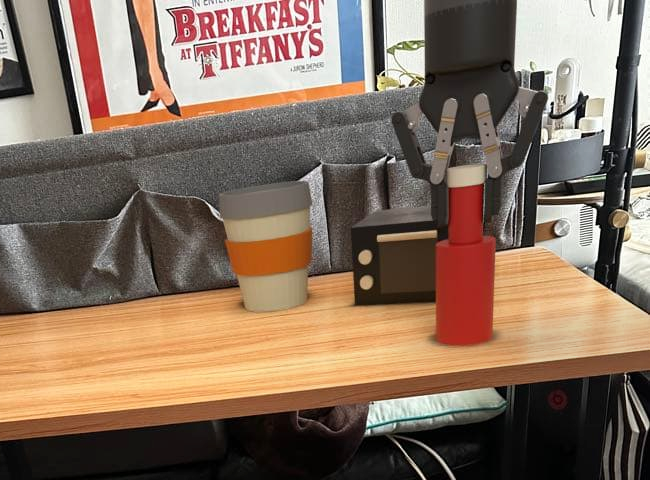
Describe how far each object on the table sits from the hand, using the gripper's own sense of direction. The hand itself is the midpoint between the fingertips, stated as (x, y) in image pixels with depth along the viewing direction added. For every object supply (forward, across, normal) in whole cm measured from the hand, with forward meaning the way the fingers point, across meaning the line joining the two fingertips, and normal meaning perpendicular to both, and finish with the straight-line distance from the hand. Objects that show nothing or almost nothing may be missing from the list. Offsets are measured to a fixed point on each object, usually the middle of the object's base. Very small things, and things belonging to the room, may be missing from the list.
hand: (466, 222), depth 69 cm
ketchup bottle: (+12, 0, 0) cm, 12 cm away
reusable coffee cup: (+12, -28, +22) cm, 38 cm away
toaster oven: (+12, -10, +23) cm, 27 cm away
